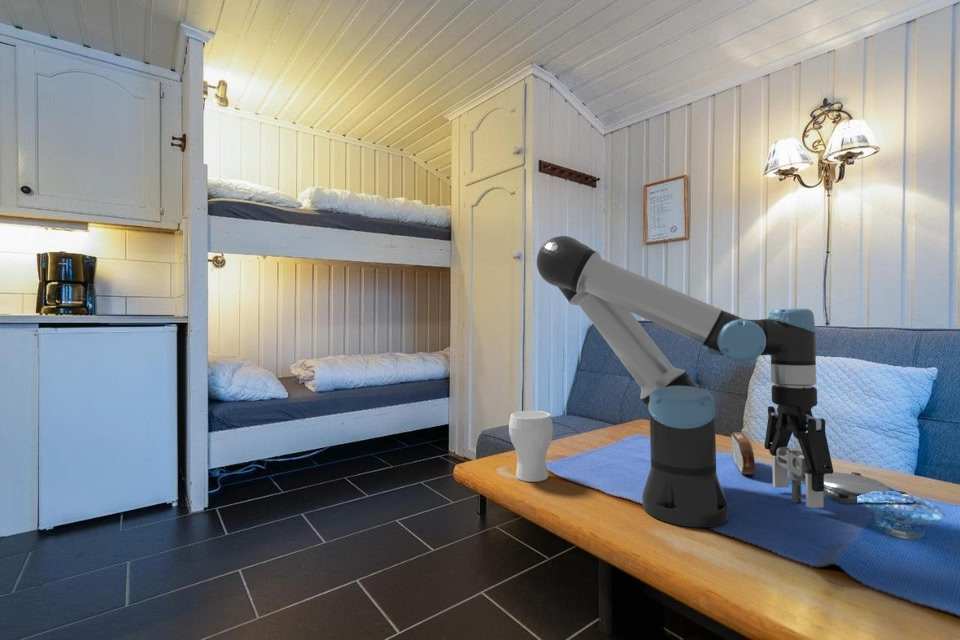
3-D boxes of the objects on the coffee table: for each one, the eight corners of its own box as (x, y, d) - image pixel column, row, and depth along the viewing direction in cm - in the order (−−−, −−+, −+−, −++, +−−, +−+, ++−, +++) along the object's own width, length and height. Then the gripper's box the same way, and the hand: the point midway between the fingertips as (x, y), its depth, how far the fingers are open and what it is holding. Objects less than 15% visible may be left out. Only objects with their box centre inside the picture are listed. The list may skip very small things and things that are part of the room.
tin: (756, 480, 102) (755, 443, 102) (741, 479, 103) (740, 442, 103) (743, 461, 116) (742, 428, 116) (730, 460, 117) (729, 428, 117)
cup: (560, 473, 109) (559, 412, 109) (543, 487, 100) (541, 421, 100) (522, 466, 115) (521, 408, 115) (502, 479, 106) (500, 416, 106)
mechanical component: (789, 492, 94) (788, 445, 94) (821, 512, 84) (820, 459, 84) (774, 492, 95) (773, 445, 95) (805, 512, 84) (803, 459, 85)
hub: (841, 503, 88) (841, 494, 88) (794, 478, 102) (794, 471, 102) (915, 503, 88) (914, 494, 88) (857, 478, 101) (857, 470, 102)
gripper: (857, 393, 78) (860, 520, 78) (778, 378, 101) (780, 477, 100) (813, 394, 79) (817, 520, 79) (744, 378, 101) (746, 477, 101)
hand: (796, 496), depth 89 cm, fingers open, 10 cm apart
